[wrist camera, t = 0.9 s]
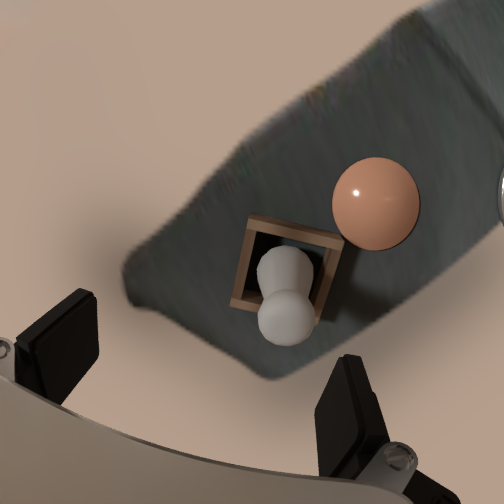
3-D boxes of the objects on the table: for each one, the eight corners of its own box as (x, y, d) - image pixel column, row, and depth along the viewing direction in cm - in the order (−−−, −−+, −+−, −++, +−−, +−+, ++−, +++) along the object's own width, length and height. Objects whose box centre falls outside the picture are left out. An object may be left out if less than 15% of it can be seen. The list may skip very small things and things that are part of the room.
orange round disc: (427, 173, 30) (428, 174, 29) (402, 258, 33) (403, 259, 33) (344, 145, 30) (345, 145, 30) (321, 237, 33) (321, 238, 33)
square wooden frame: (339, 234, 33) (344, 241, 30) (314, 312, 36) (317, 325, 33) (251, 212, 33) (248, 218, 30) (233, 294, 36) (229, 306, 33)
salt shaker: (256, 241, 34) (242, 291, 21) (310, 238, 33) (327, 286, 21) (260, 291, 36) (250, 360, 23) (311, 288, 35) (325, 356, 23)
